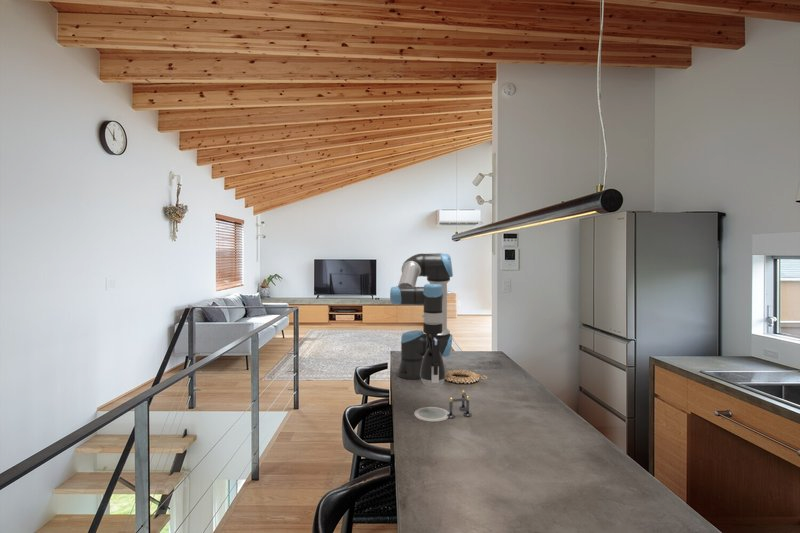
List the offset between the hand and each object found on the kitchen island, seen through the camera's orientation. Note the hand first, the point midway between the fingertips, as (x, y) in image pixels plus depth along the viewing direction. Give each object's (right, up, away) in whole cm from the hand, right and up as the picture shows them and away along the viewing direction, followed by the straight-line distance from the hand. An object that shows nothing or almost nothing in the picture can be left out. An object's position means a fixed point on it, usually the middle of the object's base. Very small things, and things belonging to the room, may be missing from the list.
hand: (432, 378), depth 169 cm
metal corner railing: (+10, -14, +2) cm, 18 cm away
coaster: (0, -15, 0) cm, 15 cm away
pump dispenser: (0, -3, 0) cm, 3 cm away
